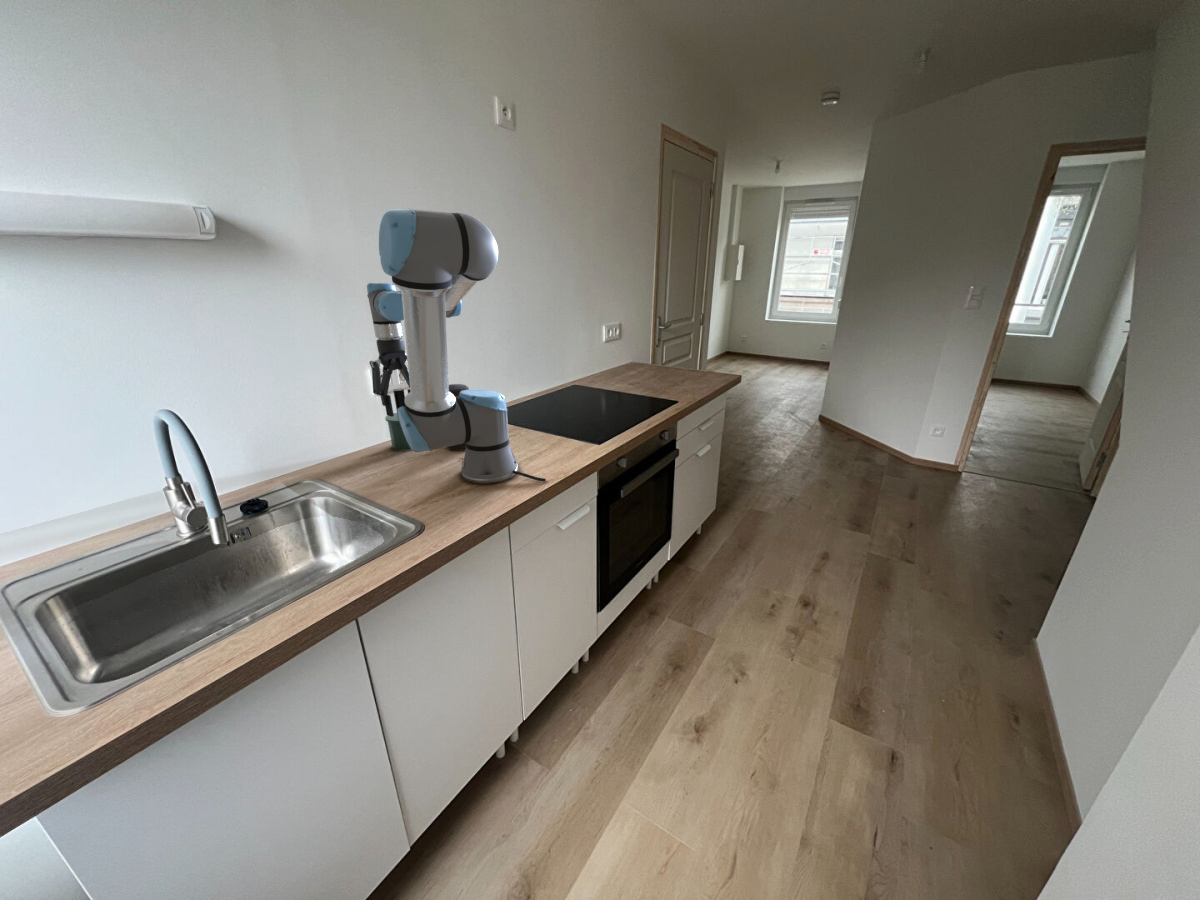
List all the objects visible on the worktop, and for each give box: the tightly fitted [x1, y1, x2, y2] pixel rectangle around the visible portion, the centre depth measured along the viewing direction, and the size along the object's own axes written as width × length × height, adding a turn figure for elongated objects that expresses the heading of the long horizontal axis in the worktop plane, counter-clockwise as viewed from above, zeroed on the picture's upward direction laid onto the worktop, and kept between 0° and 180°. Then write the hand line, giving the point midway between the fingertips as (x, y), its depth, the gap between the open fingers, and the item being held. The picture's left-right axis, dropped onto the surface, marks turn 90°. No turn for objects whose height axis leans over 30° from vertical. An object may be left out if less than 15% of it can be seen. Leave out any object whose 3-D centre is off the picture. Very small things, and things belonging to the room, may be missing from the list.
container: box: [447, 383, 470, 451], centre depth 142 cm, size 9×9×20 cm
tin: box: [387, 422, 412, 450], centre depth 144 cm, size 9×9×10 cm
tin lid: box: [384, 388, 406, 423], centre depth 141 cm, size 10×10×10 cm
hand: (402, 412), depth 142 cm, fingers open, 7 cm apart
